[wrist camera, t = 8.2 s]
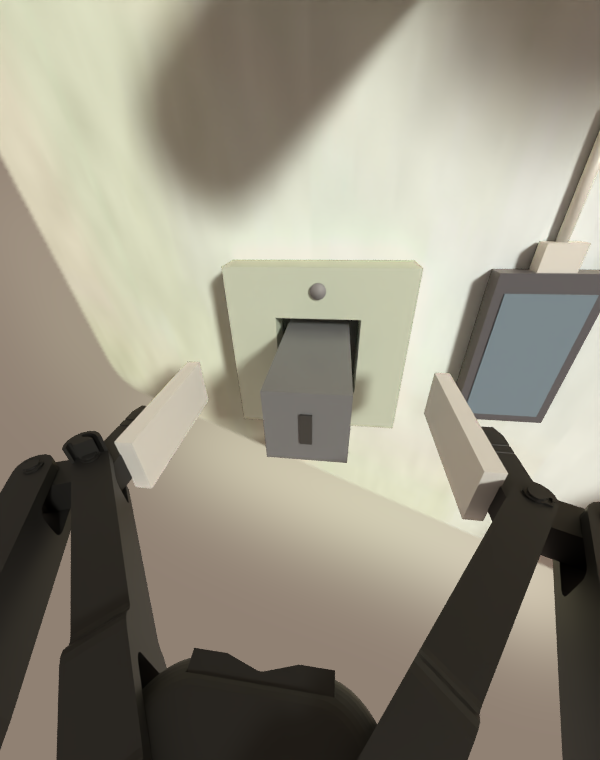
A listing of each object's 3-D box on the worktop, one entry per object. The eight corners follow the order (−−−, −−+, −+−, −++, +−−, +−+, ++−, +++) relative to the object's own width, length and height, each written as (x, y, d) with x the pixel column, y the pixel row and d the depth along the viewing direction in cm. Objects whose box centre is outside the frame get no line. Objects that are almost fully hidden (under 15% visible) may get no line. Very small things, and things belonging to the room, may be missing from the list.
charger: (291, 316, 22) (259, 392, 13) (348, 317, 21) (353, 397, 13) (293, 365, 24) (266, 458, 16) (345, 367, 24) (346, 464, 15)
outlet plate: (233, 259, 20) (220, 267, 18) (414, 260, 19) (423, 268, 17) (251, 401, 27) (243, 419, 24) (388, 409, 25) (392, 429, 23)
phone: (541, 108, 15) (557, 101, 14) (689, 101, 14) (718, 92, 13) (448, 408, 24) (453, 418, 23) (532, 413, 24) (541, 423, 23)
